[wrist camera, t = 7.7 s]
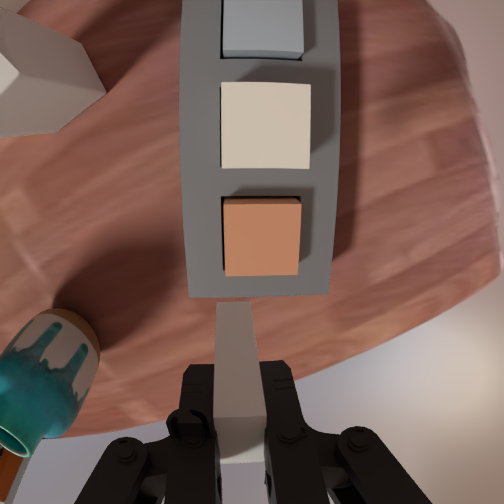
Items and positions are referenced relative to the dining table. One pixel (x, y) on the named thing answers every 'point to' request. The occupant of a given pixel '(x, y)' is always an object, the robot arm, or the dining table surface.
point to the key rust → (261, 235)
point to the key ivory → (265, 125)
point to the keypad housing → (256, 179)
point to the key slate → (263, 29)
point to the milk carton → (41, 78)
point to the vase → (45, 378)
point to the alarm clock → (10, 474)
